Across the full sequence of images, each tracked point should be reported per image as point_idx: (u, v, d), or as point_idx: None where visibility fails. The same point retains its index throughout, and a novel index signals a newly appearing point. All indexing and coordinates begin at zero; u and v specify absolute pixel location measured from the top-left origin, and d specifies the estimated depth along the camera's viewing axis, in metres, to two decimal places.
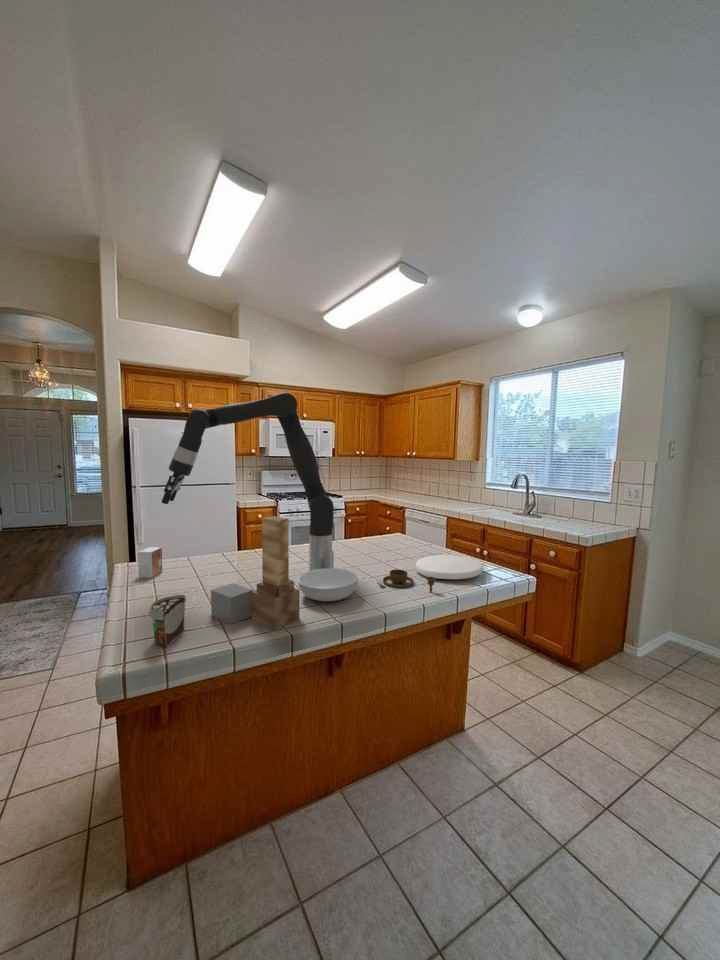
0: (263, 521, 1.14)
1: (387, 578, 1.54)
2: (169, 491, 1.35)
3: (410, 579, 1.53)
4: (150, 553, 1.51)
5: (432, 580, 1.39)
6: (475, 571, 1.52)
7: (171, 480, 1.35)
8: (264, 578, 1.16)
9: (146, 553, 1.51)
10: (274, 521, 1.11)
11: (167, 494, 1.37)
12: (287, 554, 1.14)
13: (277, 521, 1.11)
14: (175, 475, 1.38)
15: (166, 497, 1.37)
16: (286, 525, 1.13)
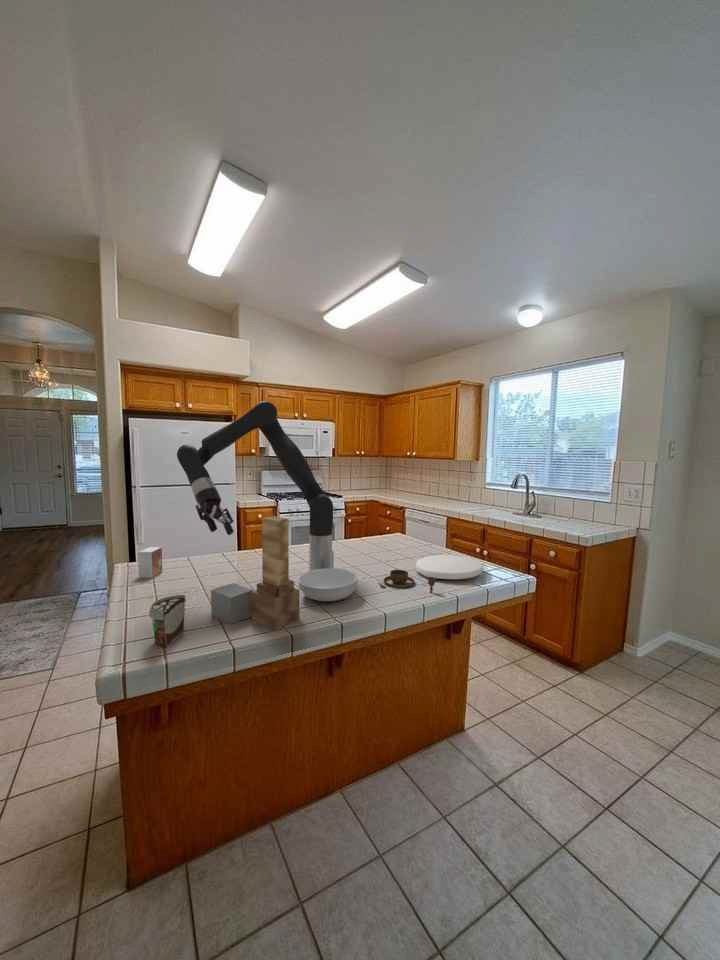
0: (263, 521, 1.14)
1: (388, 578, 1.54)
2: (204, 515, 1.23)
3: (411, 579, 1.52)
4: (150, 553, 1.51)
5: (432, 580, 1.39)
6: (475, 571, 1.52)
7: (198, 507, 1.25)
8: (264, 578, 1.16)
9: (146, 553, 1.51)
10: (274, 521, 1.11)
11: (208, 520, 1.24)
12: (287, 554, 1.14)
13: (277, 521, 1.11)
14: (203, 504, 1.29)
15: (209, 523, 1.24)
16: (286, 525, 1.13)
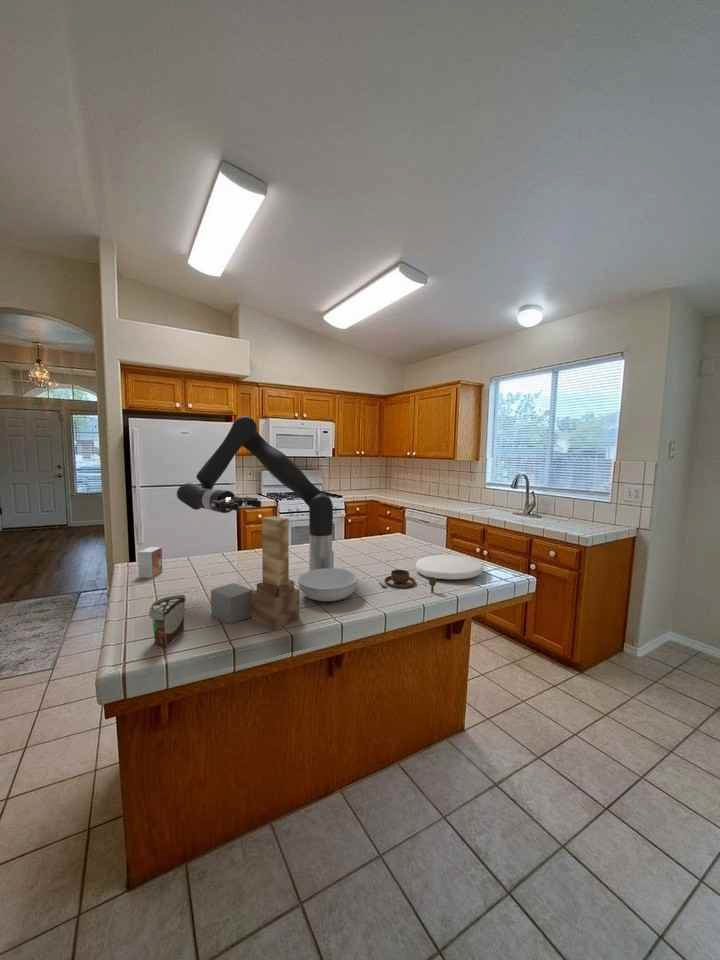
0: (263, 521, 1.14)
1: (389, 578, 1.54)
2: (219, 504, 1.18)
3: (412, 579, 1.52)
4: (150, 553, 1.51)
5: (434, 580, 1.39)
6: (475, 571, 1.52)
7: (213, 505, 1.21)
8: (264, 578, 1.16)
9: (146, 553, 1.51)
10: (274, 521, 1.11)
11: (227, 505, 1.19)
12: (287, 554, 1.14)
13: (277, 521, 1.11)
14: None
15: (230, 506, 1.18)
16: (286, 525, 1.13)
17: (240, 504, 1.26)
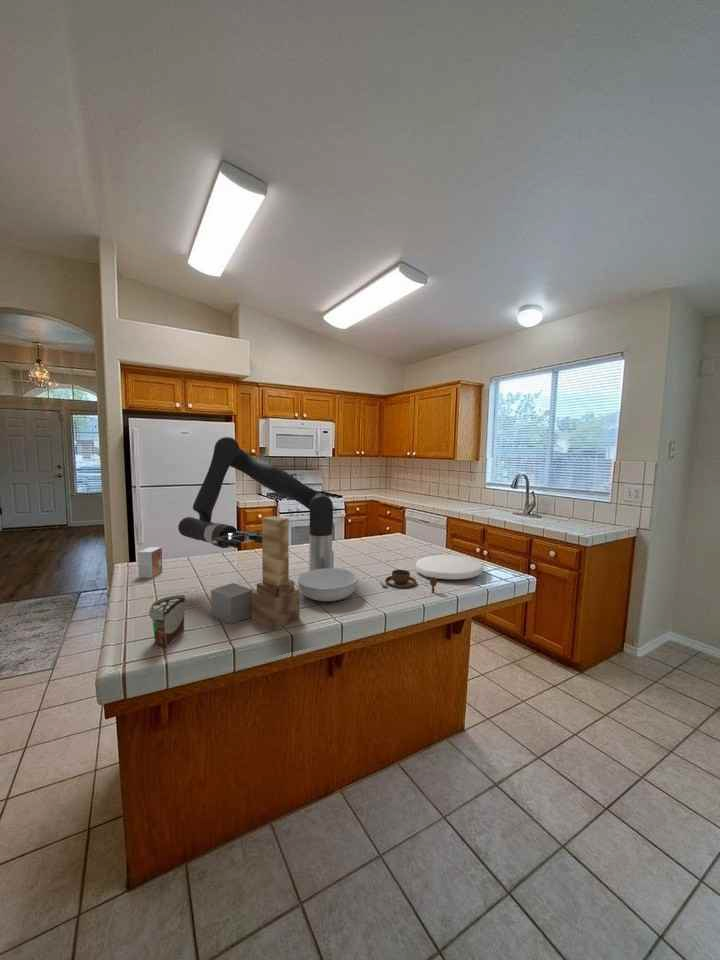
0: (263, 521, 1.14)
1: (390, 578, 1.54)
2: (221, 542, 1.19)
3: (413, 579, 1.52)
4: (150, 553, 1.51)
5: (434, 580, 1.39)
6: (475, 571, 1.52)
7: (215, 542, 1.21)
8: (264, 578, 1.16)
9: (146, 553, 1.51)
10: (274, 521, 1.11)
11: (229, 543, 1.19)
12: (287, 554, 1.14)
13: (277, 521, 1.11)
14: None
15: (232, 544, 1.19)
16: (286, 525, 1.13)
17: (242, 539, 1.26)
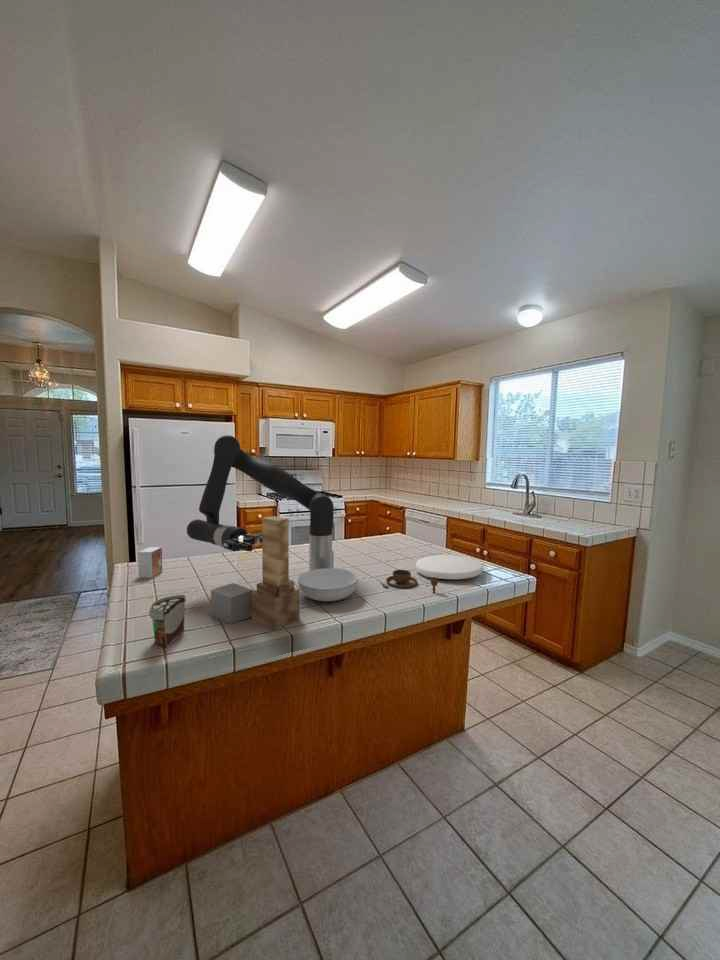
0: (263, 521, 1.14)
1: (390, 578, 1.54)
2: (232, 545, 1.16)
3: (413, 579, 1.52)
4: (150, 553, 1.51)
5: (435, 580, 1.39)
6: (475, 571, 1.52)
7: (225, 545, 1.18)
8: (264, 578, 1.16)
9: (146, 553, 1.51)
10: (274, 521, 1.11)
11: (240, 546, 1.16)
12: (287, 554, 1.14)
13: (277, 521, 1.11)
14: None
15: (243, 547, 1.15)
16: (286, 525, 1.13)
17: (253, 542, 1.23)
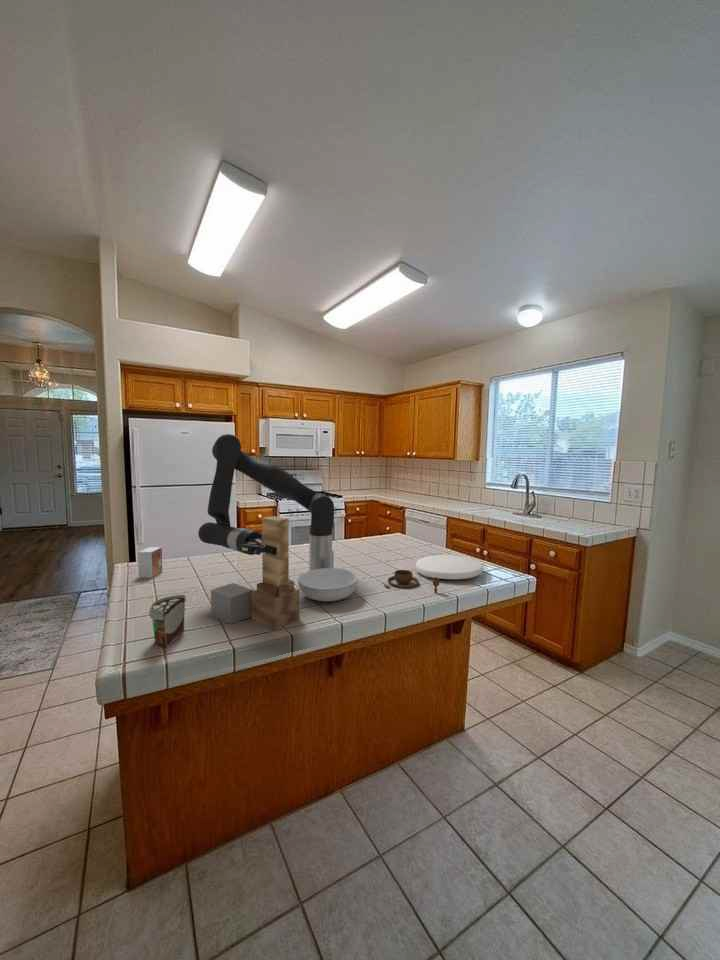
0: (263, 521, 1.14)
1: (392, 578, 1.54)
2: (256, 548, 1.12)
3: (415, 579, 1.52)
4: (150, 553, 1.51)
5: (437, 581, 1.39)
6: (475, 571, 1.52)
7: (245, 549, 1.13)
8: (264, 578, 1.16)
9: (146, 553, 1.51)
10: (274, 521, 1.11)
11: (264, 549, 1.13)
12: (287, 554, 1.14)
13: (277, 521, 1.11)
14: None
15: (267, 550, 1.12)
16: (286, 525, 1.13)
17: None
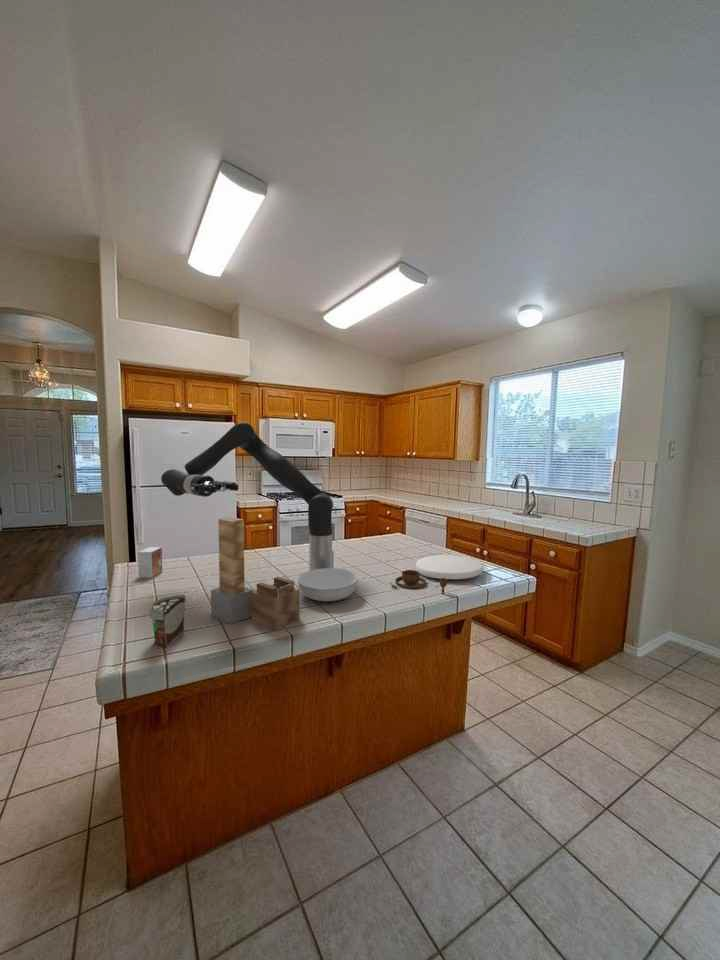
0: (219, 522, 1.17)
1: (400, 579, 1.54)
2: (198, 487, 1.27)
3: (423, 580, 1.52)
4: (150, 553, 1.51)
5: (444, 581, 1.38)
6: (475, 571, 1.52)
7: (192, 488, 1.29)
8: (221, 577, 1.19)
9: (146, 553, 1.51)
10: (229, 522, 1.14)
11: (205, 488, 1.27)
12: (242, 554, 1.17)
13: (231, 522, 1.14)
14: None
15: (208, 488, 1.26)
16: (241, 526, 1.16)
17: (218, 488, 1.34)
